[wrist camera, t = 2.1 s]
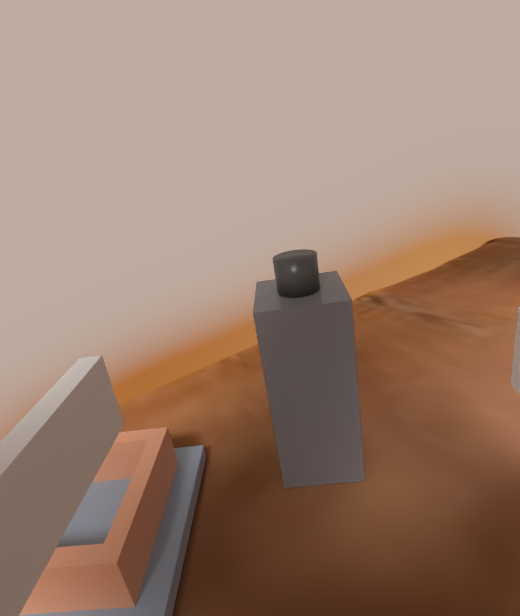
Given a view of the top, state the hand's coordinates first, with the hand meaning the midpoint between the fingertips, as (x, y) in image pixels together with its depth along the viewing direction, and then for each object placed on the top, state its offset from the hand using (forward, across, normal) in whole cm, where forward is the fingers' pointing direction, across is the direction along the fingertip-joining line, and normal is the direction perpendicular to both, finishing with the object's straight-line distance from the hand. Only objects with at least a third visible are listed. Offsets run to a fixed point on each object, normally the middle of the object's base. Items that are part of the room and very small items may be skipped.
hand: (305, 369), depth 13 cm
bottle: (+10, 0, -13) cm, 16 cm away
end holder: (+5, -14, -13) cm, 19 cm away
